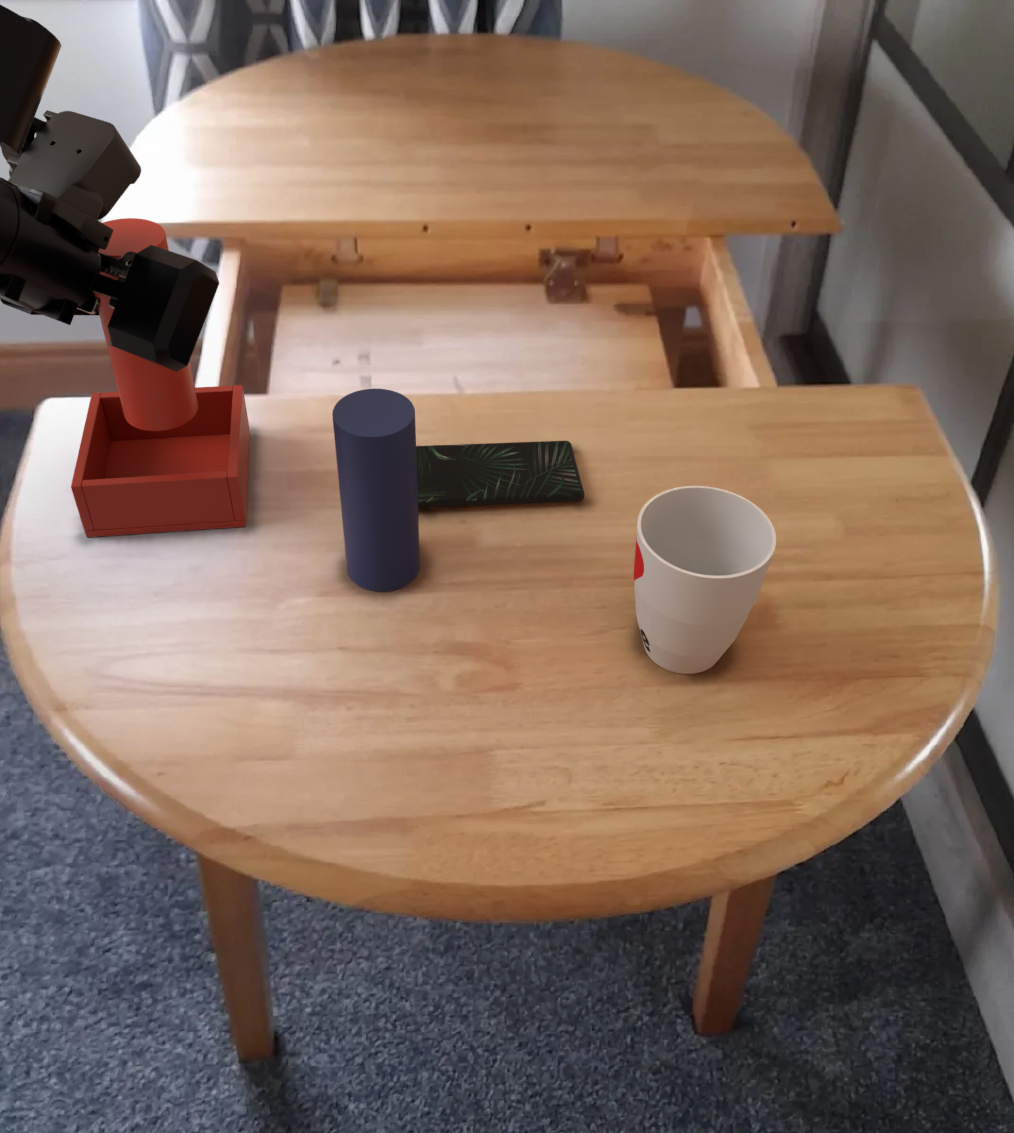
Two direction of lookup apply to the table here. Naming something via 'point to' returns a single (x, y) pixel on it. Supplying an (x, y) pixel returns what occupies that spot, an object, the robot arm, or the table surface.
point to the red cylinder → (142, 385)
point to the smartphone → (497, 474)
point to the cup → (697, 573)
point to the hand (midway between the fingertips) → (157, 318)
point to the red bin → (164, 468)
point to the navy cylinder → (378, 487)
